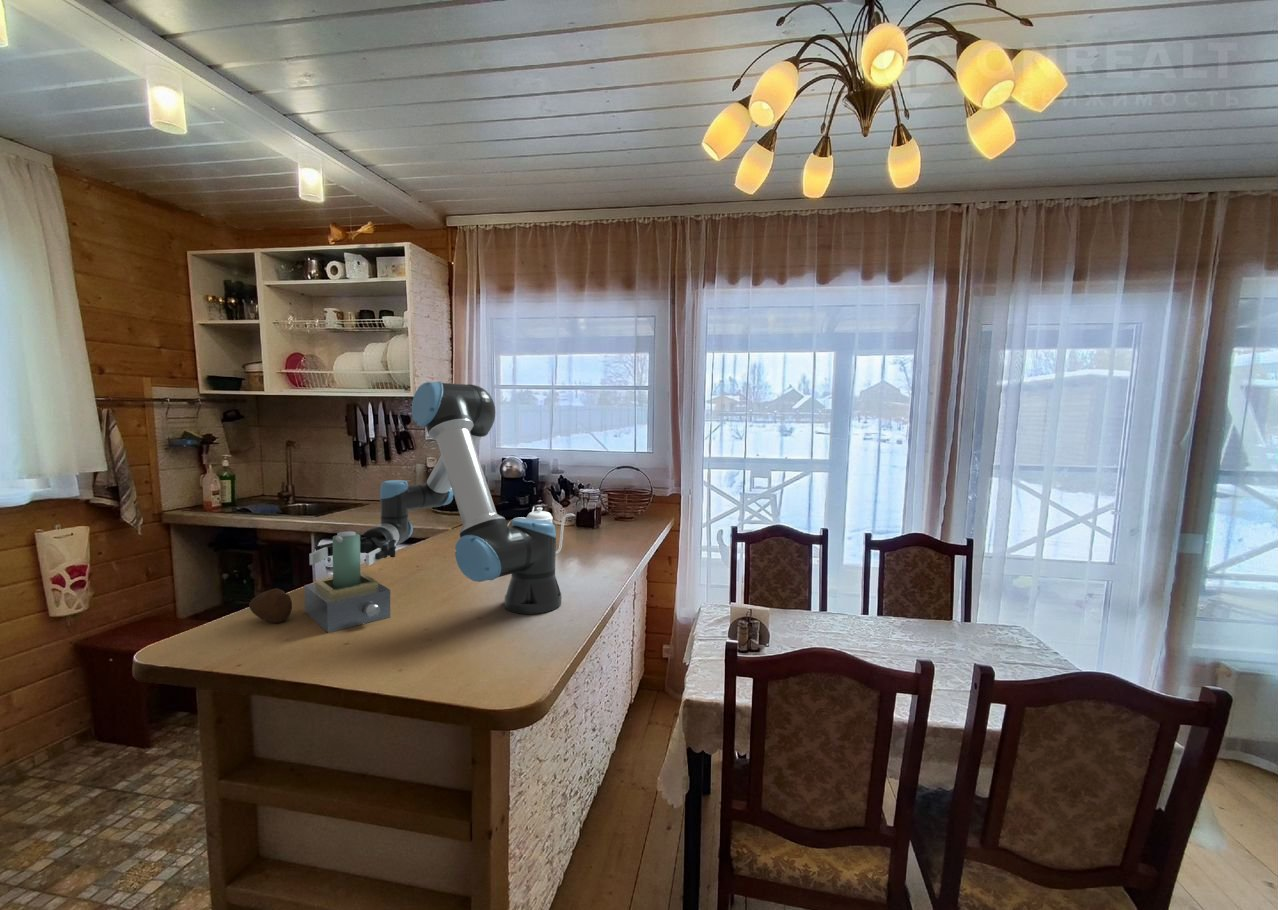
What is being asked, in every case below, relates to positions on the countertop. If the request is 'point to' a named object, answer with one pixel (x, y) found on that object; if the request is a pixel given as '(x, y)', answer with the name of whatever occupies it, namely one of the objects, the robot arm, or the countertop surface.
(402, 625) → the countertop surface
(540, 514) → the coffeepot
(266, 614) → the potato
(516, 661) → the countertop surface
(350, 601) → the box
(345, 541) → the can
